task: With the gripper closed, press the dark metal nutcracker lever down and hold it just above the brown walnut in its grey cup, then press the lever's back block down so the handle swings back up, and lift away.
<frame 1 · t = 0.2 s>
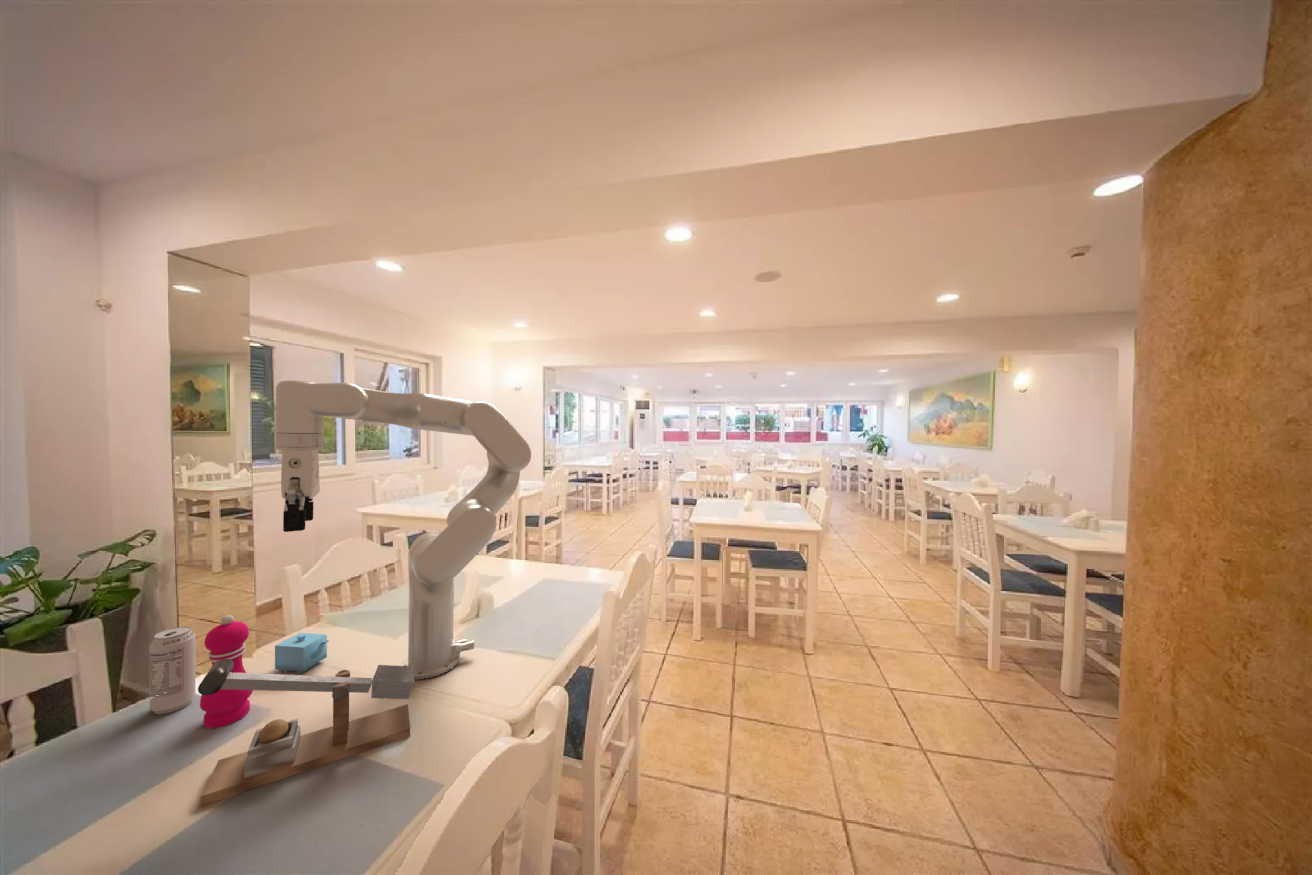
hand: (299, 525, 86), 36 cm above the table, tool pointing down, fingers open, 9 cm apart
energy drink can: (173, 706, 84), on the table
stand: (319, 751, 73), on the table
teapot: (305, 667, 98), on the table
lever: (318, 679, 73), point 13 cm above the table, hinge at -20.0°
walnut: (274, 732, 70), point 6 cm above the table, touching stand
pepper mill: (227, 718, 81), on the table
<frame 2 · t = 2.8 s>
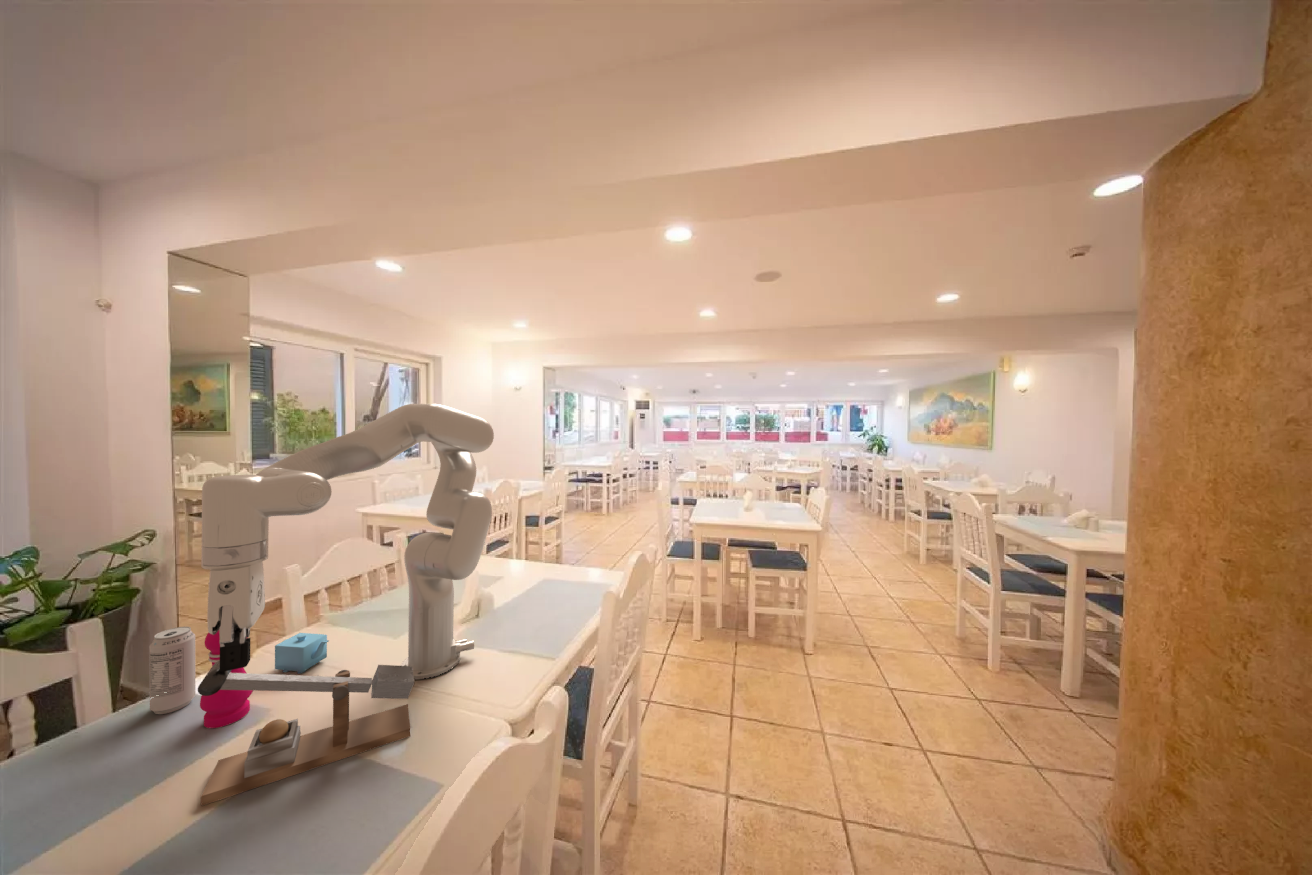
hand: (235, 666, 67), 18 cm above the table, tool pointing down, fingers closed
lever: (318, 679, 73), point 13 cm above the table, hinge at -19.8°, touching gripper
everything else where it was.
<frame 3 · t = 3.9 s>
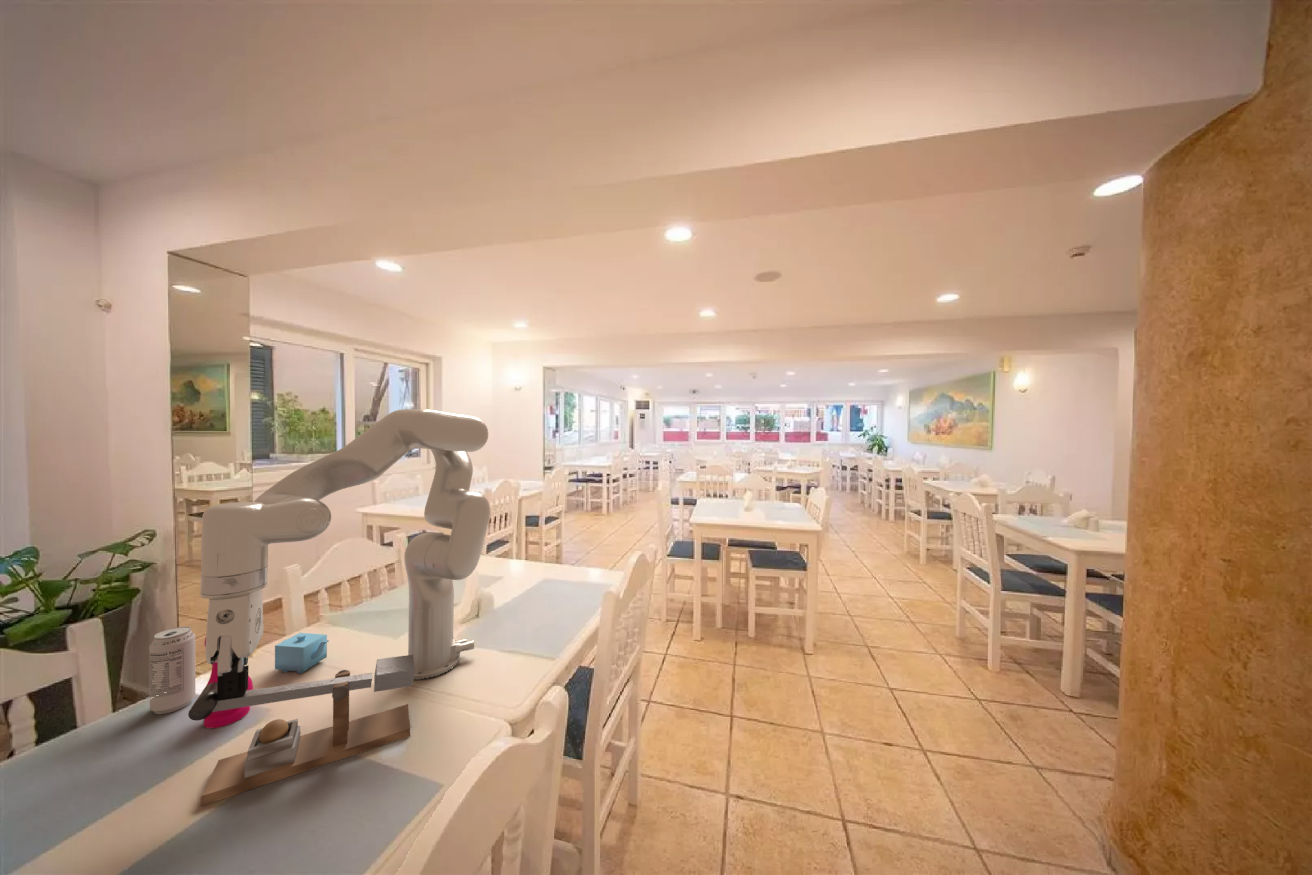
hand: (232, 694, 67), 14 cm above the table, tool pointing down, fingers closed
lever: (316, 683, 73), point 12 cm above the table, hinge at -7.7°, touching gripper
everything else where it was.
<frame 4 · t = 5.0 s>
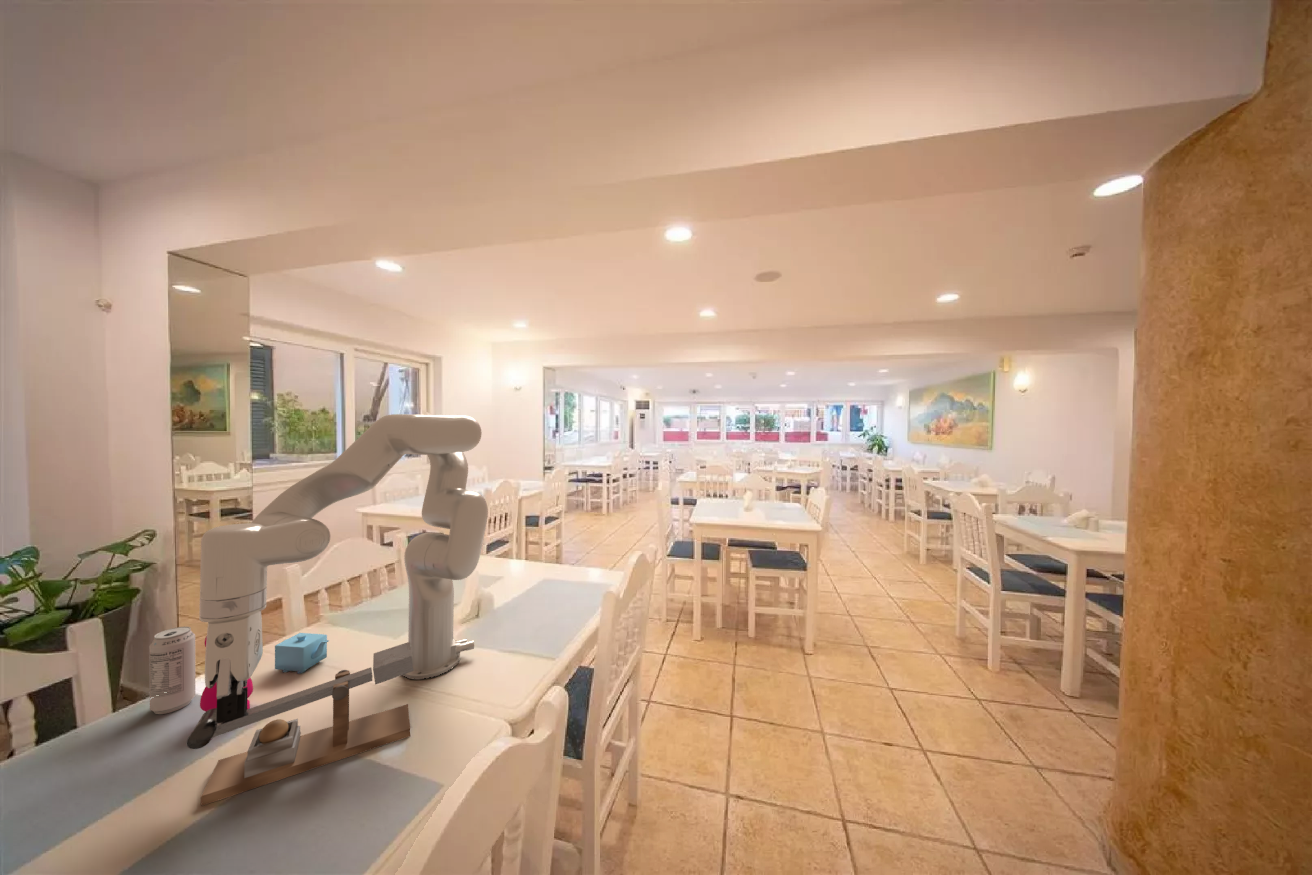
hand: (232, 717, 67), 10 cm above the table, tool pointing down, fingers closed
lever: (314, 689, 73), point 11 cm above the table, hinge at 6.8°, touching gripper
everything else where it was.
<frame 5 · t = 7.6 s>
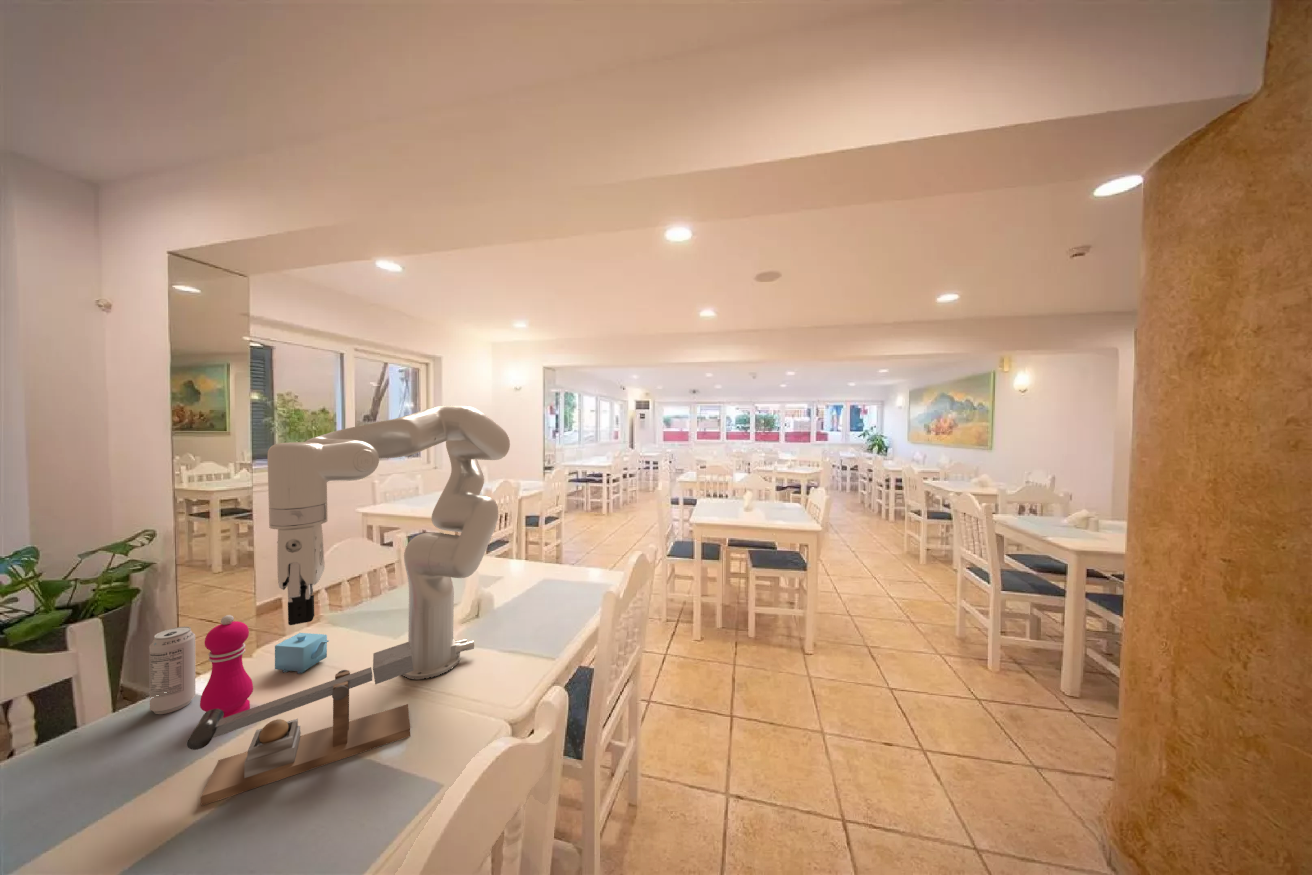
hand: (301, 621, 72), 24 cm above the table, tool pointing down, fingers closed
lever: (314, 689, 73), point 11 cm above the table, hinge at 7.1°
everything else where it was.
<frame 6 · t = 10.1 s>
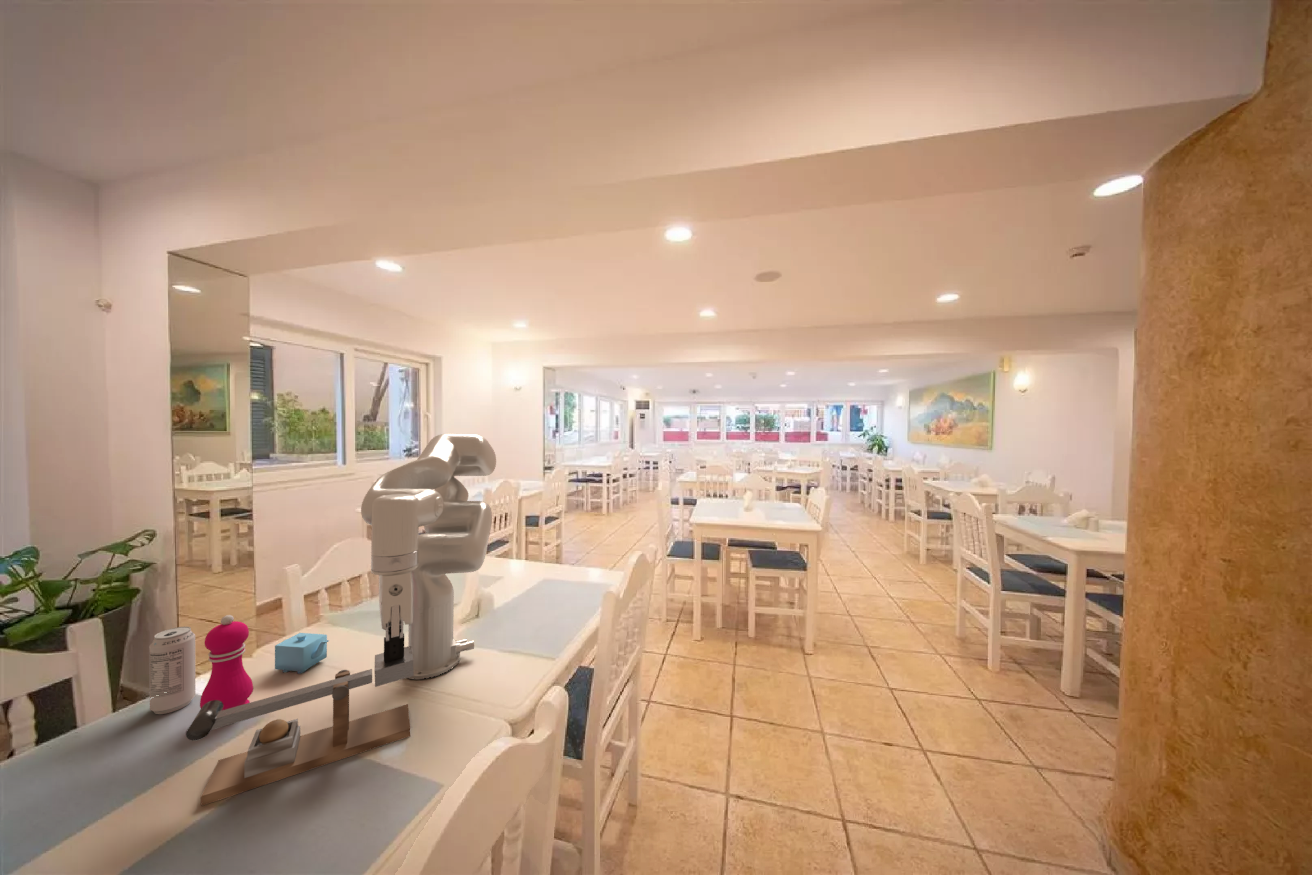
hand: (393, 657, 79), 14 cm above the table, tool pointing down, fingers closed
lever: (315, 687, 73), point 12 cm above the table, hinge at 2.1°, touching gripper
everything else where it was.
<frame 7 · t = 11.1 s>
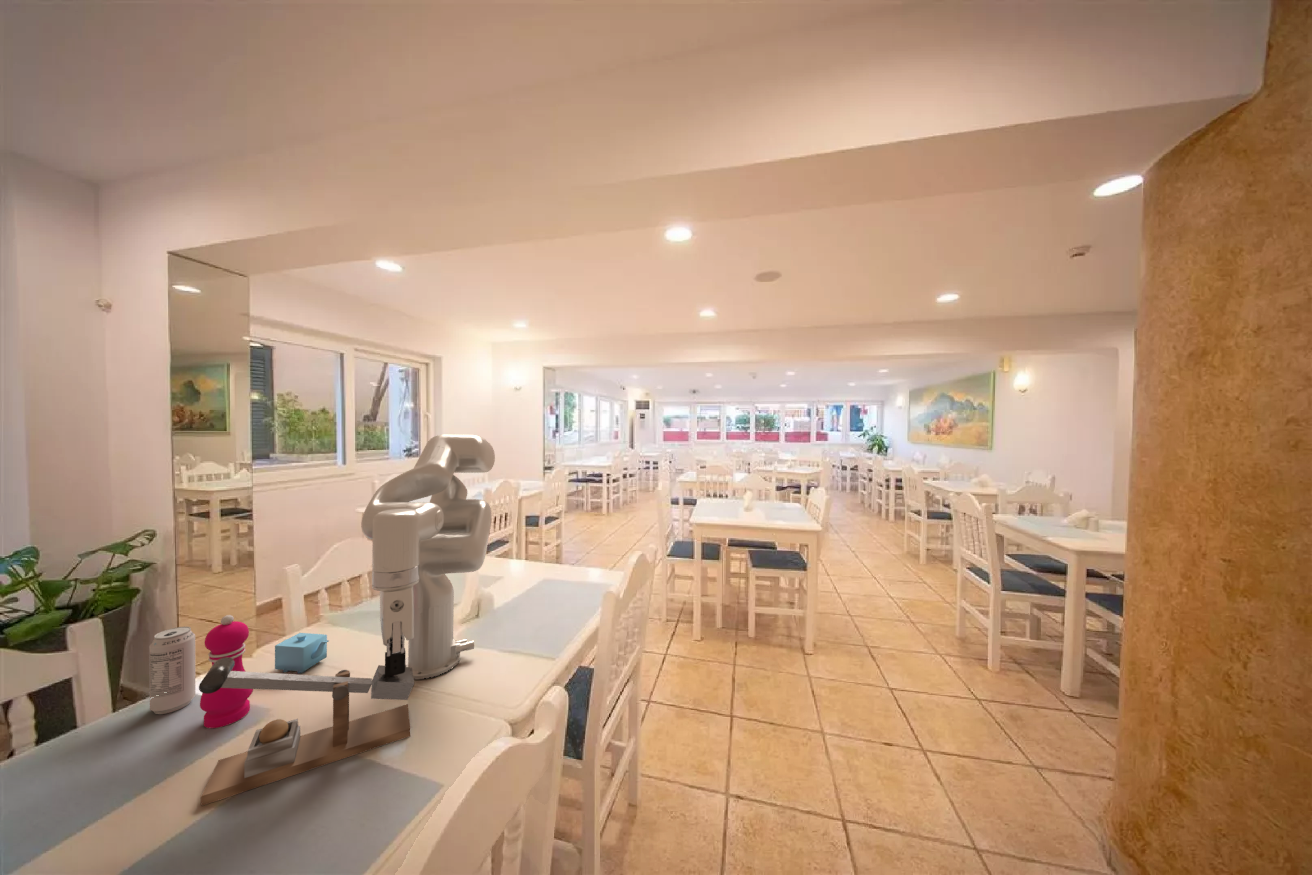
hand: (395, 672, 79), 11 cm above the table, tool pointing down, fingers closed
lever: (319, 678, 73), point 13 cm above the table, hinge at -20.9°, touching gripper
everything else where it was.
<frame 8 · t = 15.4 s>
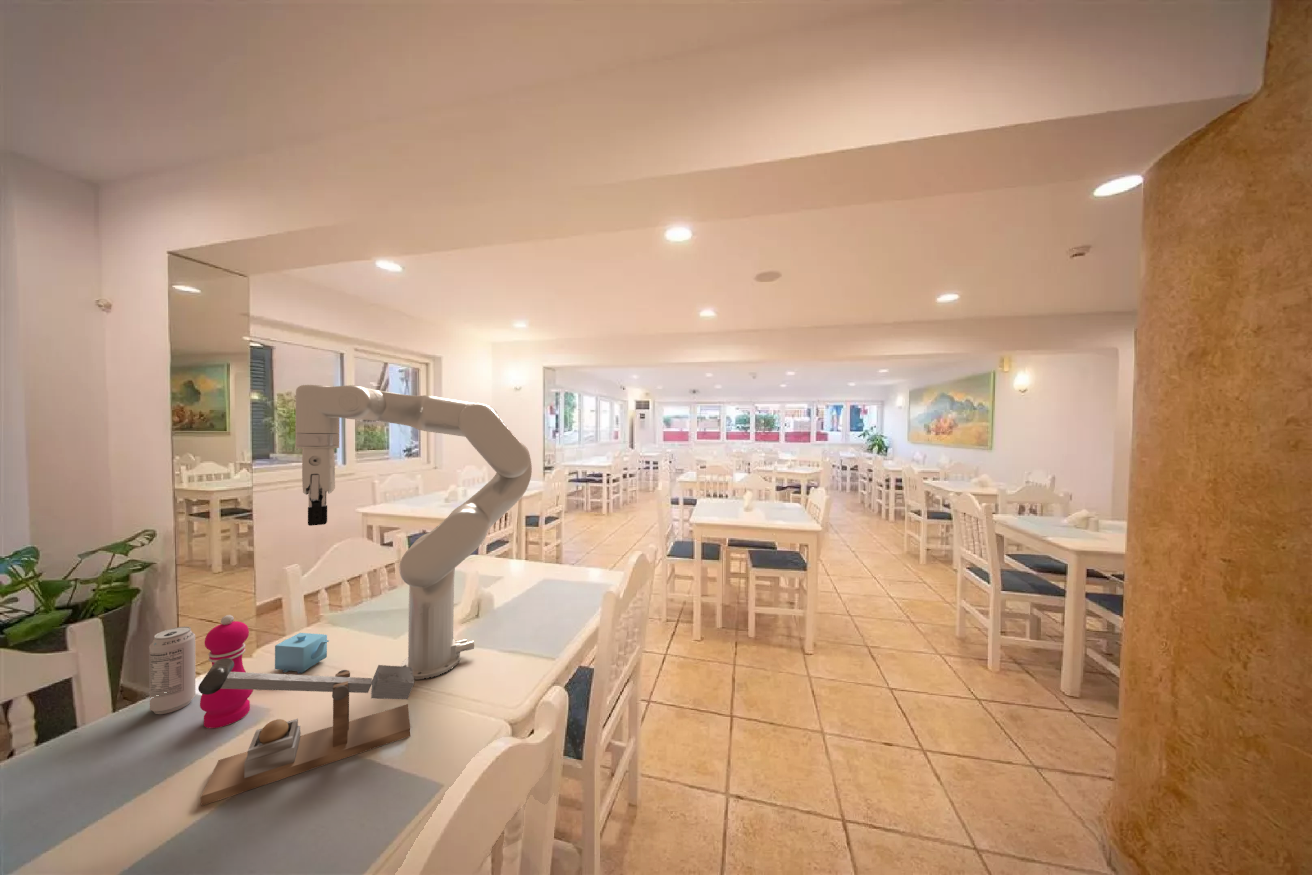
hand: (317, 524, 93), 35 cm above the table, tool pointing down, fingers closed
lever: (318, 678, 73), point 13 cm above the table, hinge at -20.4°
everything else where it was.
at the end: lever at -20° (first picture: -20°); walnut 0.0 cm from the target spot on the stand, point 5.8 cm above the stand's base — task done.
